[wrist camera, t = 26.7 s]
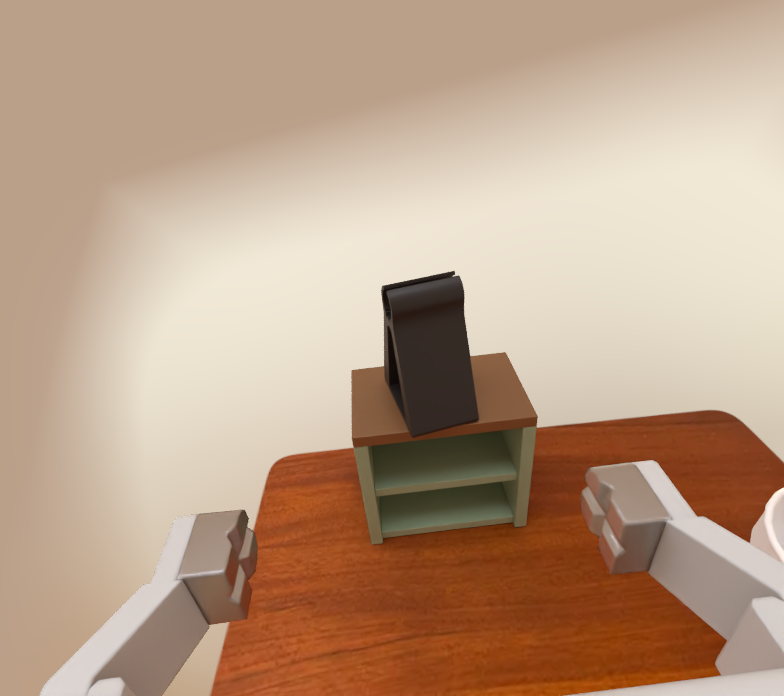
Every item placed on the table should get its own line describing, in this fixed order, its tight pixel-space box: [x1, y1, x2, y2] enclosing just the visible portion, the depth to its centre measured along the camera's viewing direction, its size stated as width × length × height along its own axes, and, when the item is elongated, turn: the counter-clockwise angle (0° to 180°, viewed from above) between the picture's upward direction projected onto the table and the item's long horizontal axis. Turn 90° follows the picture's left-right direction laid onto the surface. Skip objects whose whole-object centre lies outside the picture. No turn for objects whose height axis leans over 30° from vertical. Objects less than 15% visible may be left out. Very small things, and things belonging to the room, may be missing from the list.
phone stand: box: [381, 271, 479, 438], centre depth 40 cm, size 9×6×12 cm, turn 16°
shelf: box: [352, 352, 537, 545], centre depth 49 cm, size 16×10×15 cm, turn 94°
